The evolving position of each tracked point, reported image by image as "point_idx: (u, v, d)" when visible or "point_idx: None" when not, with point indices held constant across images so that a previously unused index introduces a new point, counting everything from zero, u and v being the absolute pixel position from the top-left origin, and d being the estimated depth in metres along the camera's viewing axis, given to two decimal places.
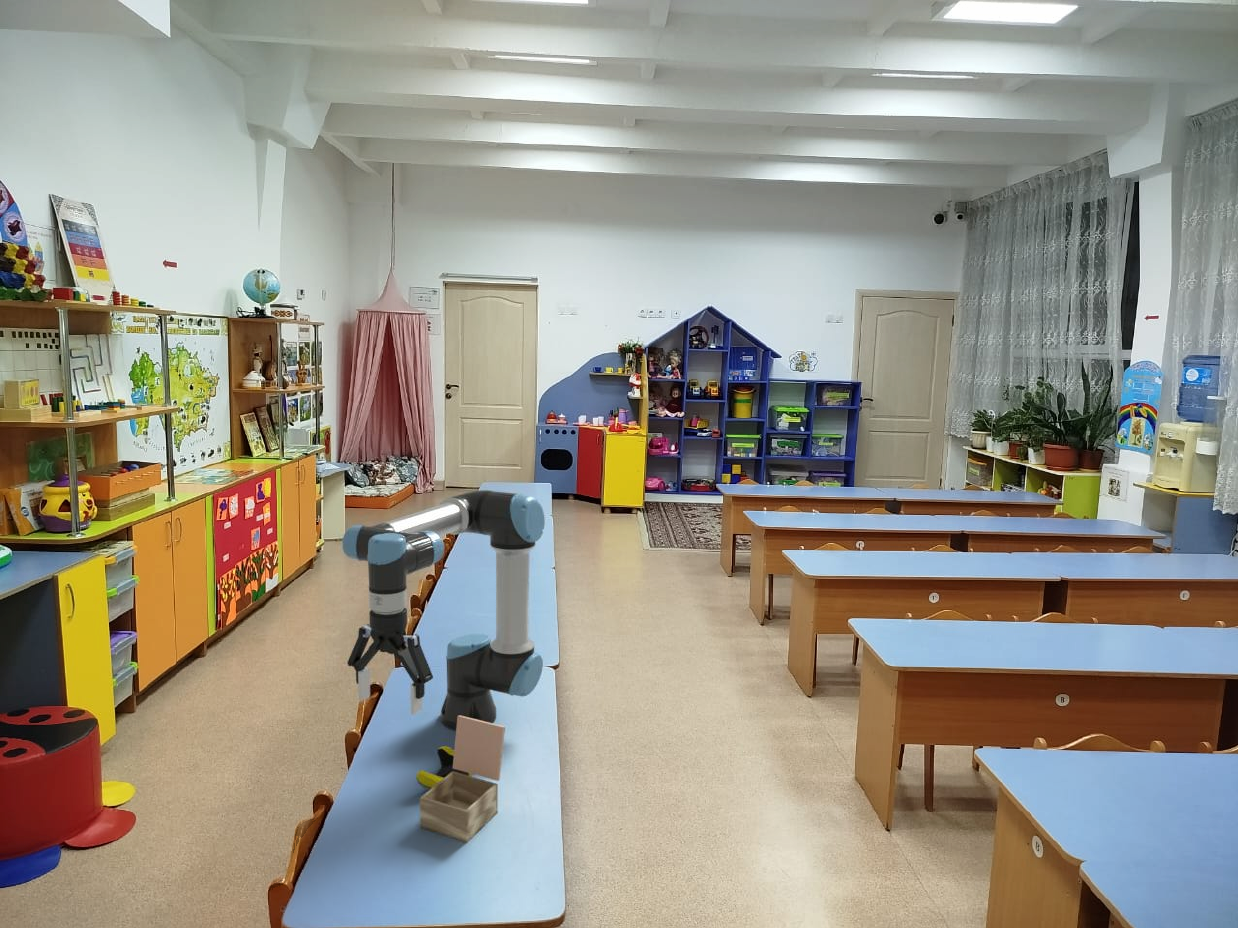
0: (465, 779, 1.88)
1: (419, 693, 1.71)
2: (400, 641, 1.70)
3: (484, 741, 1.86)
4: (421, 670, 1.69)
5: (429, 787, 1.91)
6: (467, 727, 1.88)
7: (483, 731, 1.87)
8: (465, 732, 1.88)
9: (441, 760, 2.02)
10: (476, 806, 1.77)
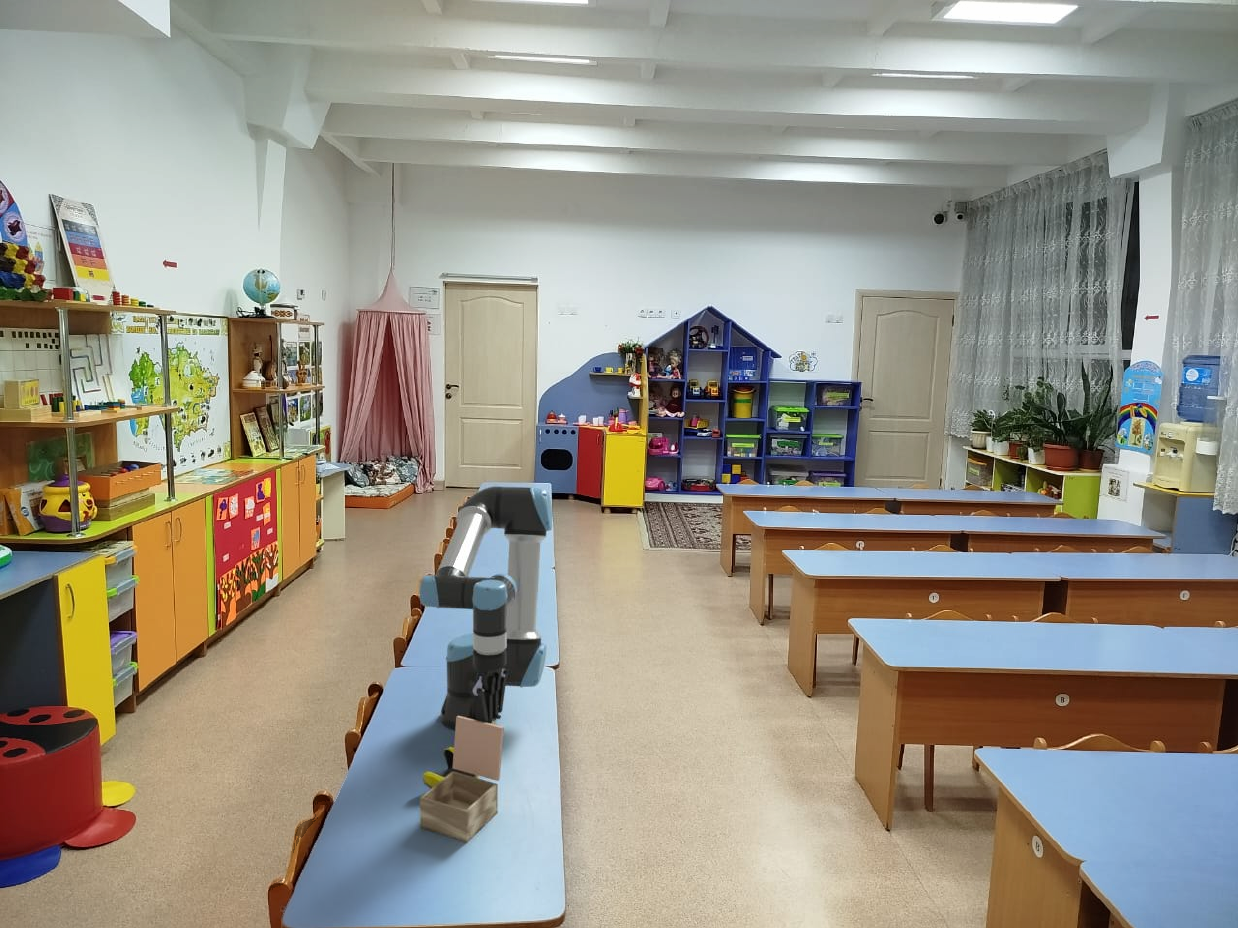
0: (465, 779, 1.88)
1: None
2: None
3: (483, 742, 1.86)
4: (475, 712, 1.87)
5: None
6: (466, 728, 1.88)
7: (482, 732, 1.86)
8: (464, 732, 1.88)
9: (447, 761, 2.02)
10: (476, 806, 1.77)
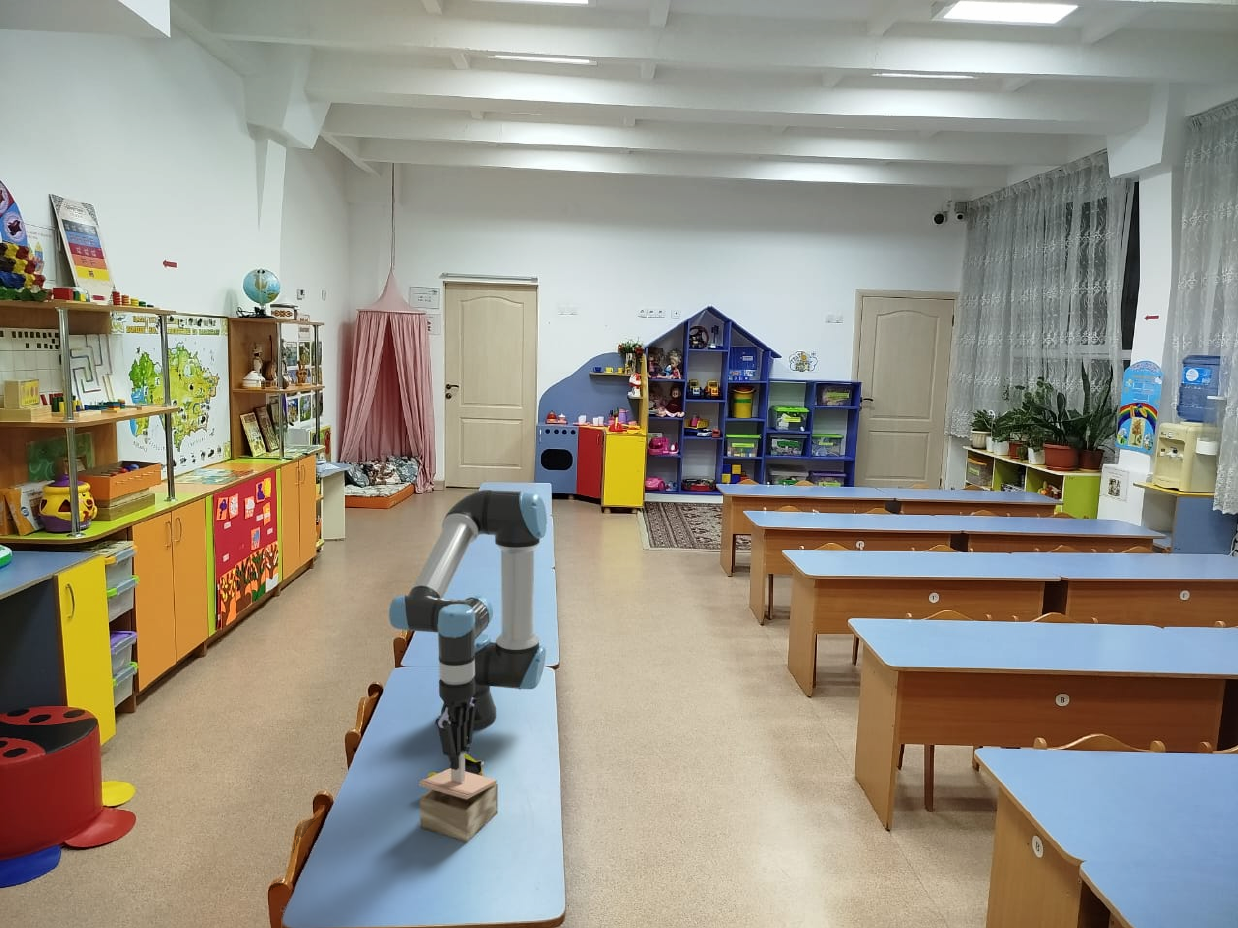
0: None
1: None
2: None
3: None
4: (442, 745, 1.76)
5: None
6: None
7: None
8: None
9: None
10: (476, 806, 1.77)
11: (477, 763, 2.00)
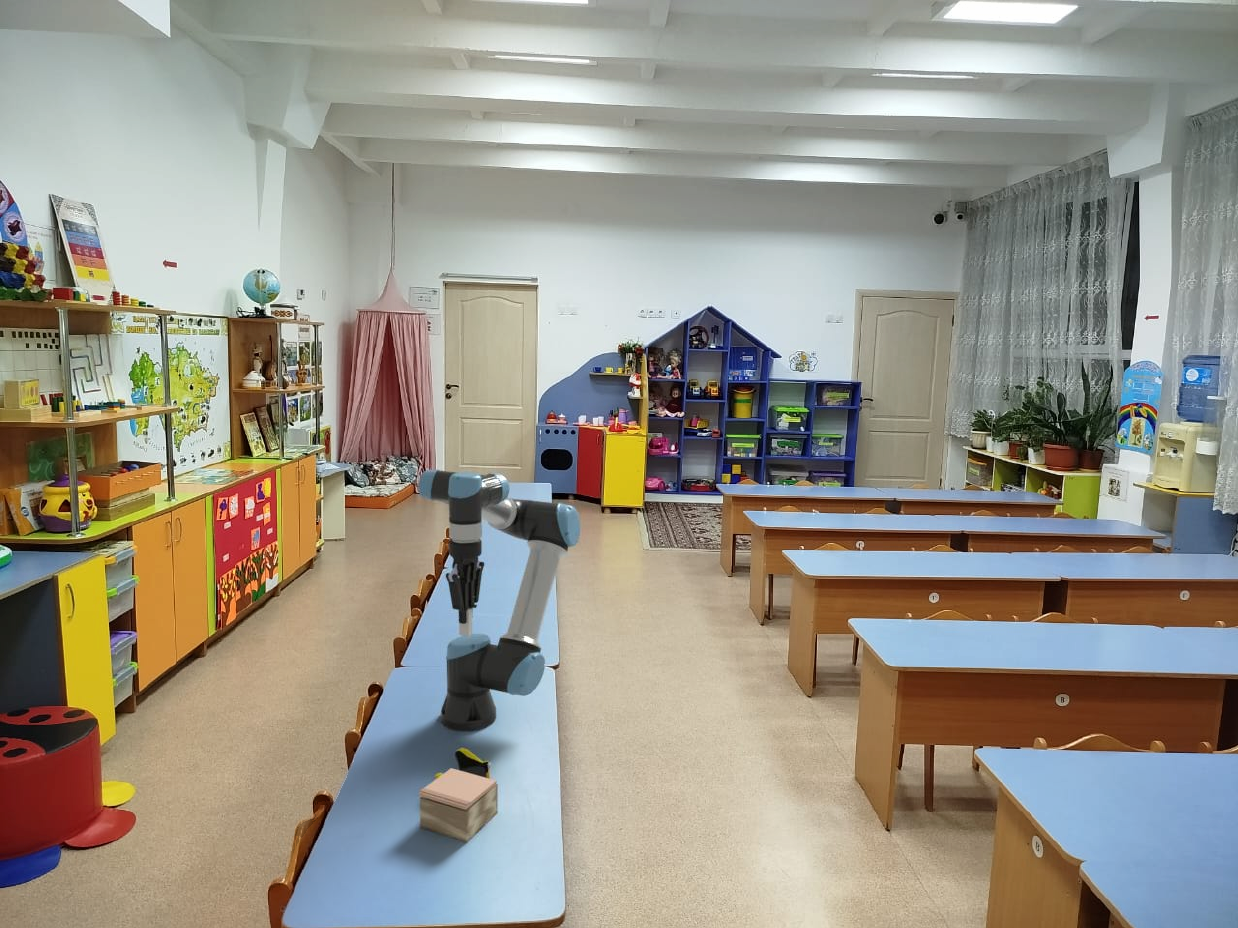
0: None
1: None
2: None
3: None
4: (451, 599, 1.94)
5: None
6: None
7: None
8: None
9: (459, 762, 2.01)
10: (476, 806, 1.77)
11: (484, 763, 2.00)
